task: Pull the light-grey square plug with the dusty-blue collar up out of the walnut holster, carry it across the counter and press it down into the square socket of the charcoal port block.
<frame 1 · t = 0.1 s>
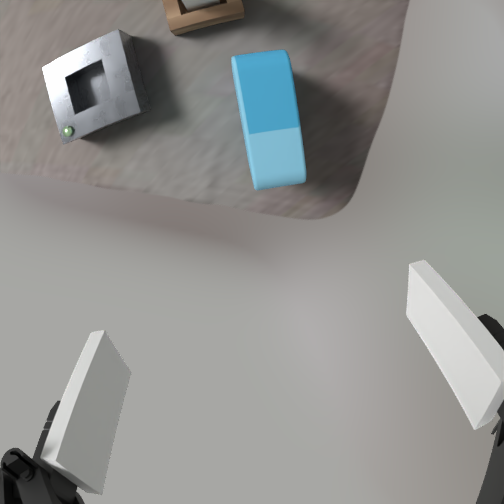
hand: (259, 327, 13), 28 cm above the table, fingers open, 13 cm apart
port: (102, 87, 31), on the table
data package: (259, 113, 35), on the table
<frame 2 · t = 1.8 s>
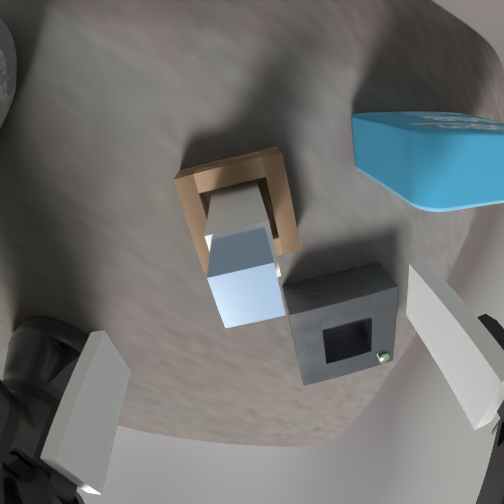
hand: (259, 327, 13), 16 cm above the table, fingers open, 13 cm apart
holster: (239, 203, 27), on the table
plug: (239, 205, 26), resting on holster
port: (336, 313, 33), on the table
data package: (407, 135, 25), on the table
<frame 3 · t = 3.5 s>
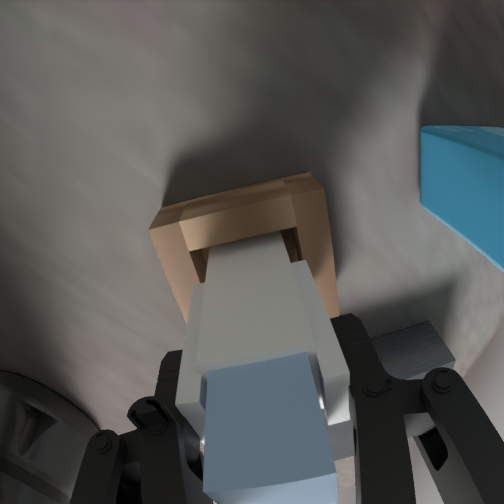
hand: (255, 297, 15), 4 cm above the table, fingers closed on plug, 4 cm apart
holster: (251, 255, 18), on the table
plug: (251, 259, 18), resting on holster, touching gripper
port: (369, 379, 24), on the table
data package: (480, 158, 16), on the table
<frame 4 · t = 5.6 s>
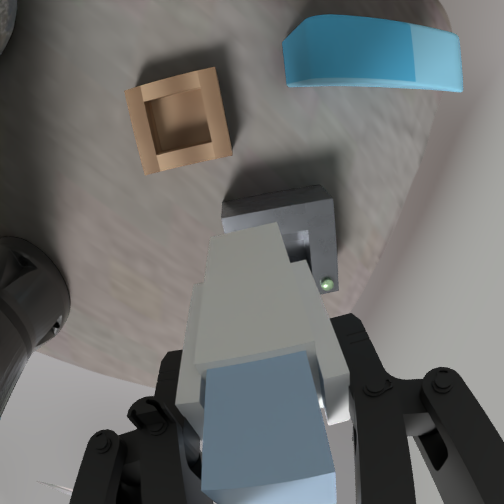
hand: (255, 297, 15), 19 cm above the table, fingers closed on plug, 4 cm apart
holster: (182, 119, 28), on the table
plug: (250, 258, 18), point 15 cm above the table, touching gripper
port: (278, 237, 34), on the table
data package: (342, 64, 26), on the table
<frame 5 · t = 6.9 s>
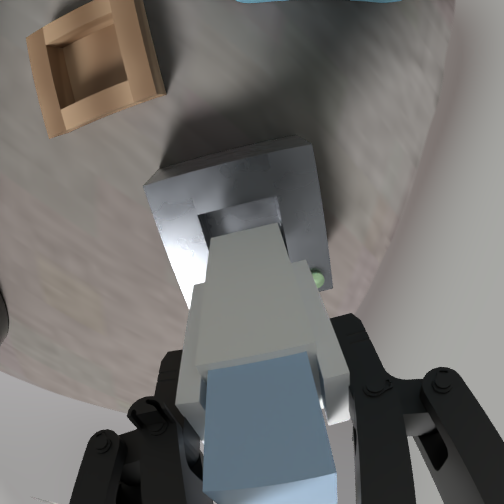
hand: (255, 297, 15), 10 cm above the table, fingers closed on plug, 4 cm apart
holster: (101, 63, 18), on the table
plug: (251, 259, 18), point 7 cm above the table, touching gripper
port: (243, 215, 24), on the table
when the fingers open (6 cm above the table, at t = 8.0 s): plug drops 1 cm, resting on port.
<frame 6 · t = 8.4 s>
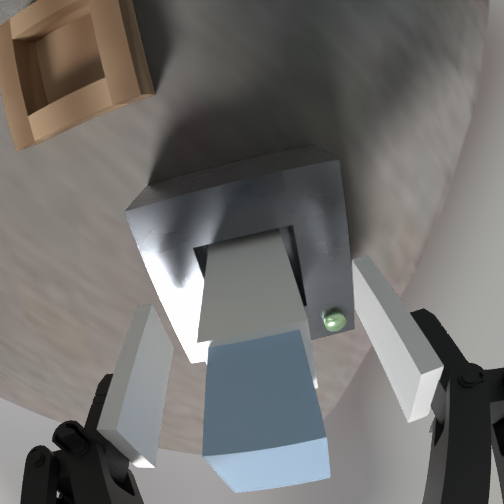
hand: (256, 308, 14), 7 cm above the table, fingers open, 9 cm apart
holster: (78, 58, 14), on the table
plug: (249, 251, 19), point 1 cm above the table, touching port
port: (249, 240, 20), on the table
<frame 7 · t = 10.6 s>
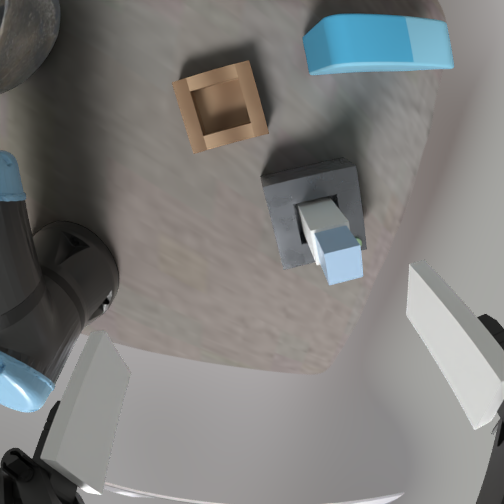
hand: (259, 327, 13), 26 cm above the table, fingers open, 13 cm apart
holster: (222, 106, 33), on the table
plug: (313, 210, 37), point 1 cm above the table, touching port
grey metal pot: (25, 42, 26), on the table
port: (311, 205, 38), on the table
data package: (353, 54, 30), on the table
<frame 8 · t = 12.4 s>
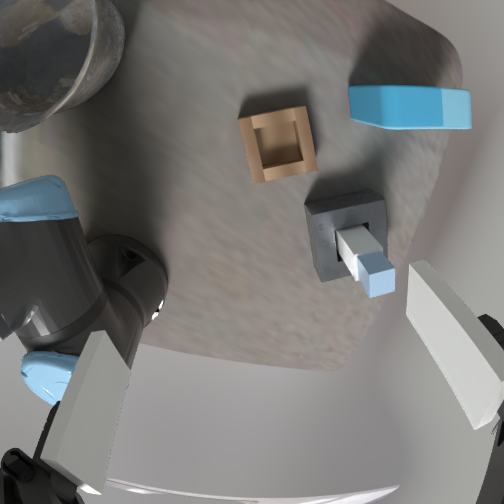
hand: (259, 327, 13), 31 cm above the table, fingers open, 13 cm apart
holster: (276, 141, 39), on the table
plug: (345, 232, 44), point 1 cm above the table, touching port
grey metal pot: (79, 57, 32), on the table
port: (342, 228, 45), on the table
data package: (386, 101, 37), on the table
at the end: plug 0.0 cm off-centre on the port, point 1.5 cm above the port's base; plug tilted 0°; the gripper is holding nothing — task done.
